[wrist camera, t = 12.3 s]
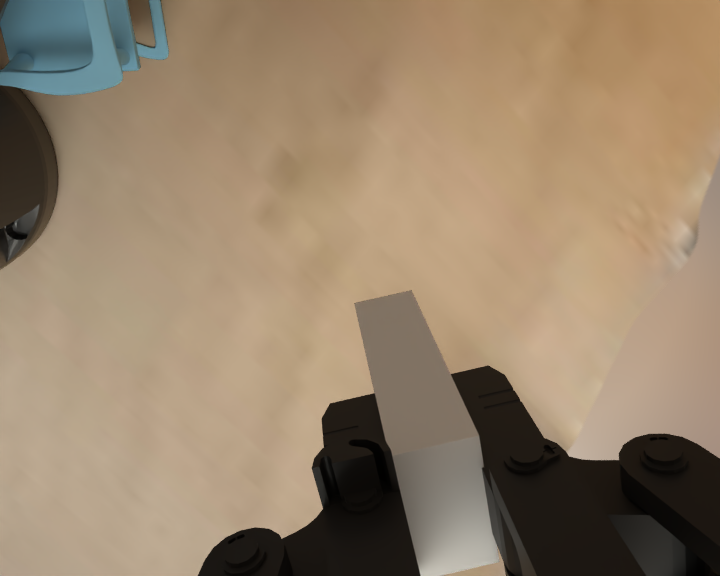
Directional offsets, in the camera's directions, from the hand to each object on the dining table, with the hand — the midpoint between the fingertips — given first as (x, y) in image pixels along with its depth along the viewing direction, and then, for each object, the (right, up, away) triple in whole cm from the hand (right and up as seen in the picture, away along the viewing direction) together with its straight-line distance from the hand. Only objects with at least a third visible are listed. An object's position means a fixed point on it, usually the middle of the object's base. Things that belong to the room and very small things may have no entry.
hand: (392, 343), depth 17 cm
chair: (-17, +19, +23) cm, 34 cm away
